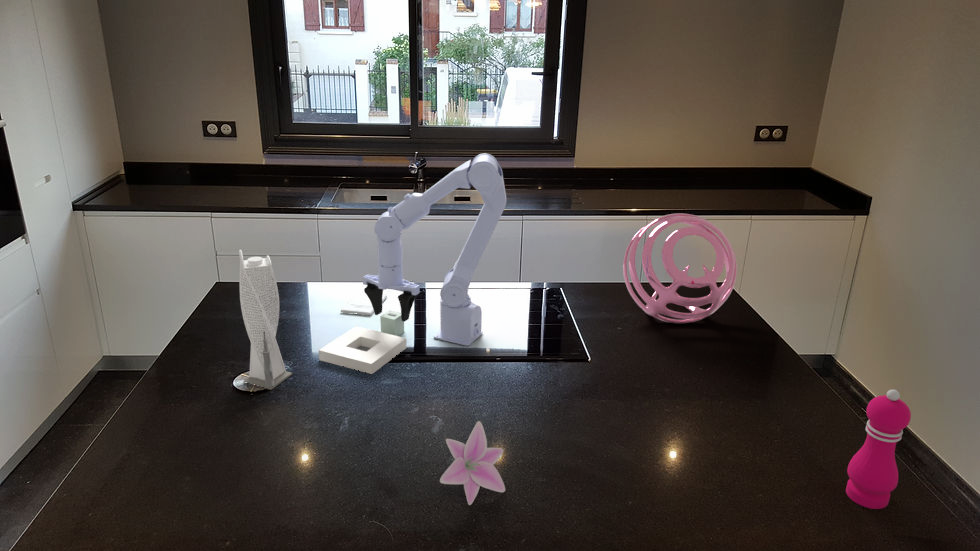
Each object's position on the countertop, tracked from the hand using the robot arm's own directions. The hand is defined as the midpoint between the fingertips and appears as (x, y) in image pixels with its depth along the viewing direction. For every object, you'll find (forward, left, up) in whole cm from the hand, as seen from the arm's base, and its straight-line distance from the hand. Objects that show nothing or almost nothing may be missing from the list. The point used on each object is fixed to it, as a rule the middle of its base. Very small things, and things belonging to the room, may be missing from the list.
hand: (391, 316), depth 165 cm
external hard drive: (+16, -11, -5) cm, 20 cm away
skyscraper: (+12, +30, -5) cm, 33 cm away
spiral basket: (-59, -42, -5) cm, 73 cm away
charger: (0, 0, -5) cm, 5 cm away
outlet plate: (0, +12, -4) cm, 13 cm away
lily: (-43, +43, -5) cm, 61 cm away
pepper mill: (-102, +16, -5) cm, 103 cm away
